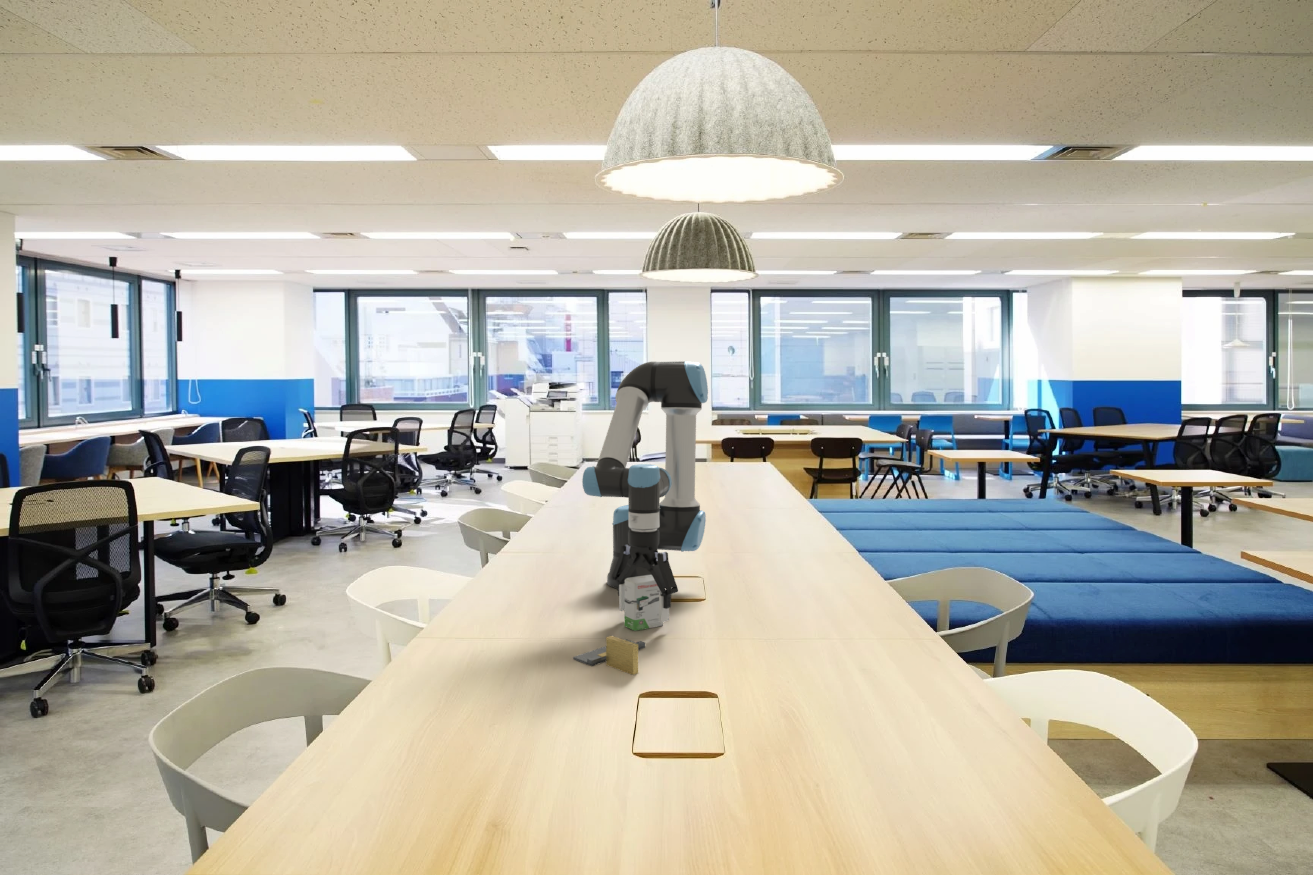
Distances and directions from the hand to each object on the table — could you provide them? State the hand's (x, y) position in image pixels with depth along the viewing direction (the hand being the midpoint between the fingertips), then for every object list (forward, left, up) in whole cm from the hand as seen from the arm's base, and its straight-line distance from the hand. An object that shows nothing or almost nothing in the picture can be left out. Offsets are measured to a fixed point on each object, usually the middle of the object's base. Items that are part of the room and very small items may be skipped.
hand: (643, 615), depth 195 cm
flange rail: (+13, -19, -3) cm, 23 cm away
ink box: (0, 0, -3) cm, 3 cm away
